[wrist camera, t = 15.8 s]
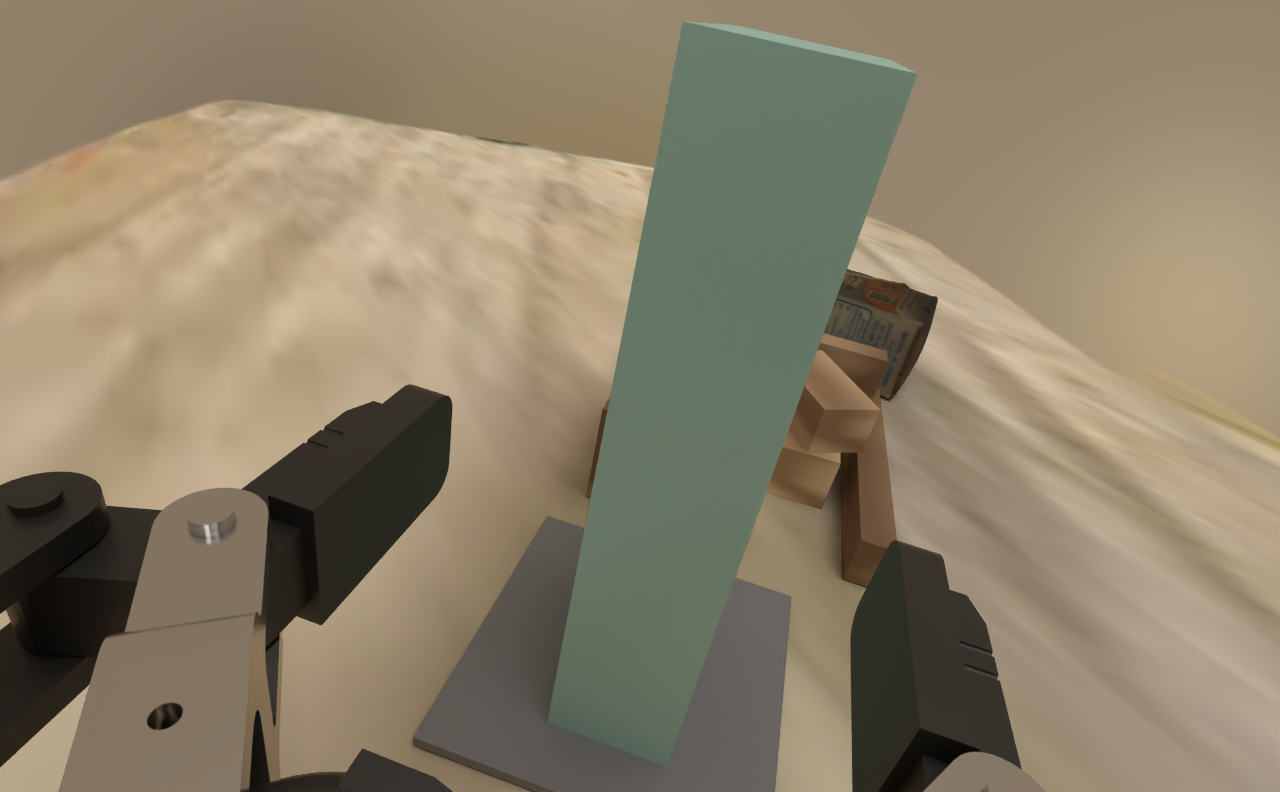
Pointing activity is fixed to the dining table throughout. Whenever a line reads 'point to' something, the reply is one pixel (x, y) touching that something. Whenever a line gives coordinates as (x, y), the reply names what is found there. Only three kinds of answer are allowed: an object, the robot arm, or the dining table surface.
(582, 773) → the pad
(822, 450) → the offcut top
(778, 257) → the tall teal pillar
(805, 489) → the offcut low
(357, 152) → the dining table surface
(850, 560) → the frame
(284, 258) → the dining table surface
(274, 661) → the robot arm
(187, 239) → the dining table surface
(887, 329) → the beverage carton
